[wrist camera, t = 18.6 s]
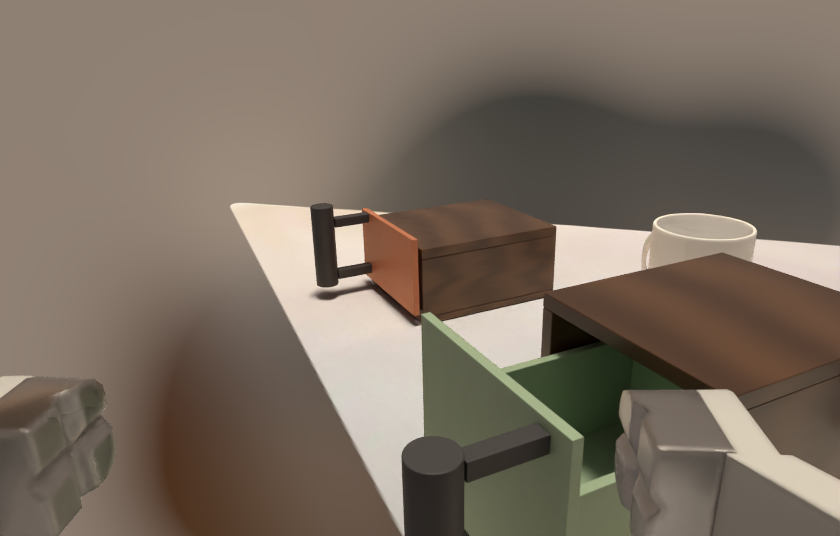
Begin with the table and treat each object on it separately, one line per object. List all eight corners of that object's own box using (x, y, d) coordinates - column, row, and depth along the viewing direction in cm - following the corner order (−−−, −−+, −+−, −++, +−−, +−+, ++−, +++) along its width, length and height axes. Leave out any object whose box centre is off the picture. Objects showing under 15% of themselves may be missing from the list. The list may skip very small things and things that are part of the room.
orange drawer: (354, 329, 60) (348, 236, 57) (313, 283, 72) (306, 203, 69) (542, 288, 69) (545, 204, 66) (478, 252, 81) (479, 180, 77)
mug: (672, 297, 69) (684, 201, 65) (760, 344, 58) (780, 232, 54) (604, 308, 66) (612, 210, 63) (683, 360, 56) (698, 244, 52)
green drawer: (431, 717, 26) (425, 492, 22) (328, 509, 38) (312, 337, 34) (785, 536, 35) (827, 352, 31) (614, 413, 46) (628, 267, 42)
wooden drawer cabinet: (697, 600, 32) (732, 398, 28) (535, 450, 44) (543, 292, 40) (886, 501, 39) (937, 324, 34) (700, 393, 51) (722, 251, 46)
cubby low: (423, 325, 64) (421, 250, 61) (372, 280, 75) (368, 216, 73) (552, 295, 70) (556, 226, 67) (486, 258, 82) (487, 198, 79)
